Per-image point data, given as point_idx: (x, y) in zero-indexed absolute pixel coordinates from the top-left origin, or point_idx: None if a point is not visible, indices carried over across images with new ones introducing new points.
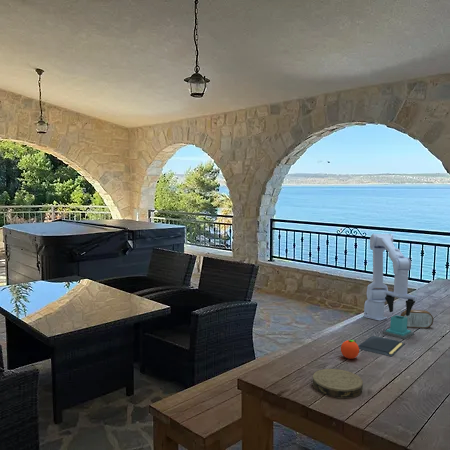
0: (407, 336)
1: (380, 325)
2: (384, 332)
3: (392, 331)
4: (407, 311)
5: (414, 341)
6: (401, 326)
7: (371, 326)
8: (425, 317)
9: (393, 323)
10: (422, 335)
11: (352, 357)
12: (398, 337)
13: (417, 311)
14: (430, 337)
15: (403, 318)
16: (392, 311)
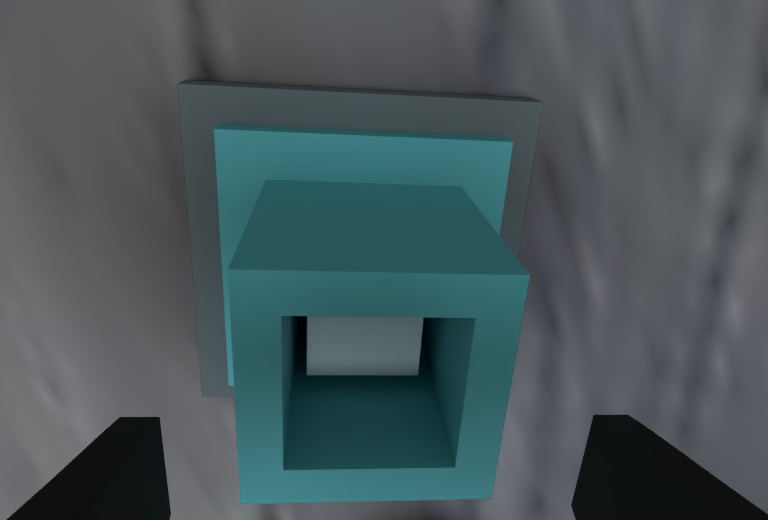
0: (188, 186)
1: (650, 407)
2: (515, 99)
3: (405, 140)
4: (42, 505)
5: (38, 95)
6: (265, 214)
7: (740, 294)
8: None
9: (431, 225)
10: None
11: None
12: (285, 85)
13: None
14: (15, 417)
15: (266, 388)
16: (577, 493)
